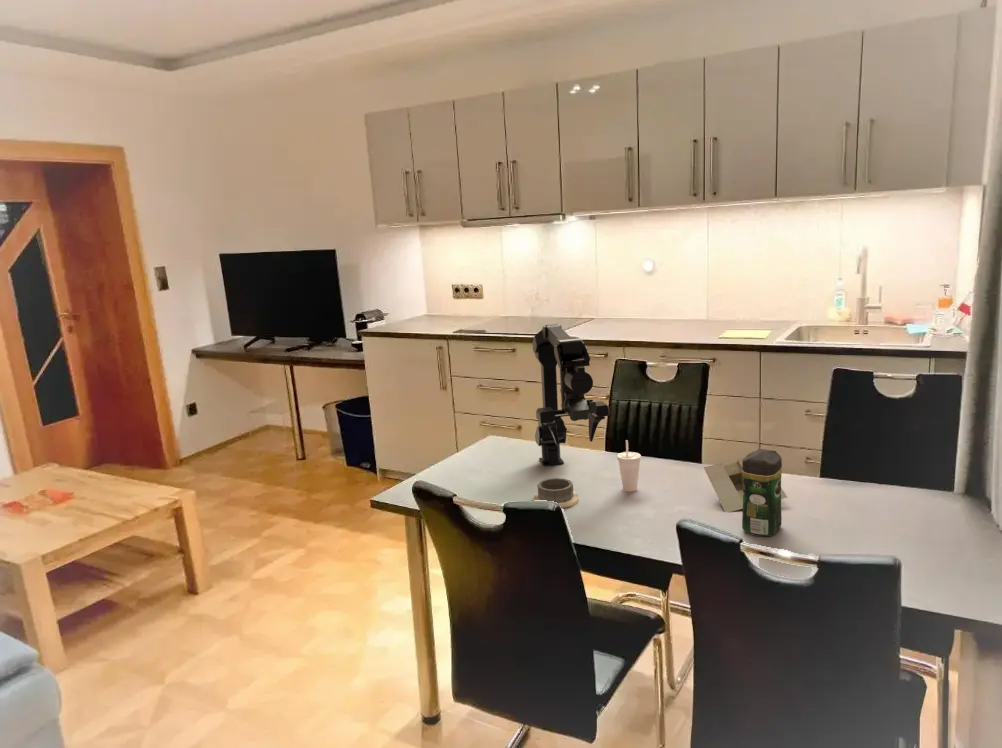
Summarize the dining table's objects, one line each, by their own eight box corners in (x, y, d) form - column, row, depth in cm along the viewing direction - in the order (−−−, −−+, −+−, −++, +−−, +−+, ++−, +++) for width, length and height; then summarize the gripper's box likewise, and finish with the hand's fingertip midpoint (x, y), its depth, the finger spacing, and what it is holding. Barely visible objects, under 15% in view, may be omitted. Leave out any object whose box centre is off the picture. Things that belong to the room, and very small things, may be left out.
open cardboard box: (782, 512, 182) (758, 462, 191) (789, 497, 175) (764, 446, 184) (720, 527, 182) (699, 476, 191) (725, 513, 175) (703, 461, 184)
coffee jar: (750, 518, 171) (751, 444, 167) (785, 524, 166) (786, 449, 162) (737, 533, 163) (737, 456, 159) (772, 540, 158) (773, 461, 155)
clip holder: (529, 494, 194) (528, 479, 193) (571, 489, 196) (571, 473, 195) (538, 511, 183) (538, 495, 182) (584, 505, 184) (583, 489, 184)
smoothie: (613, 487, 195) (611, 439, 192) (633, 483, 198) (632, 435, 195) (626, 495, 189) (625, 445, 186) (646, 490, 192) (645, 441, 189)
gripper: (543, 396, 176) (547, 456, 180) (615, 389, 179) (617, 448, 183) (534, 387, 187) (537, 444, 190) (602, 380, 190) (604, 436, 193)
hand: (574, 443), depth 189 cm, fingers open, 9 cm apart
